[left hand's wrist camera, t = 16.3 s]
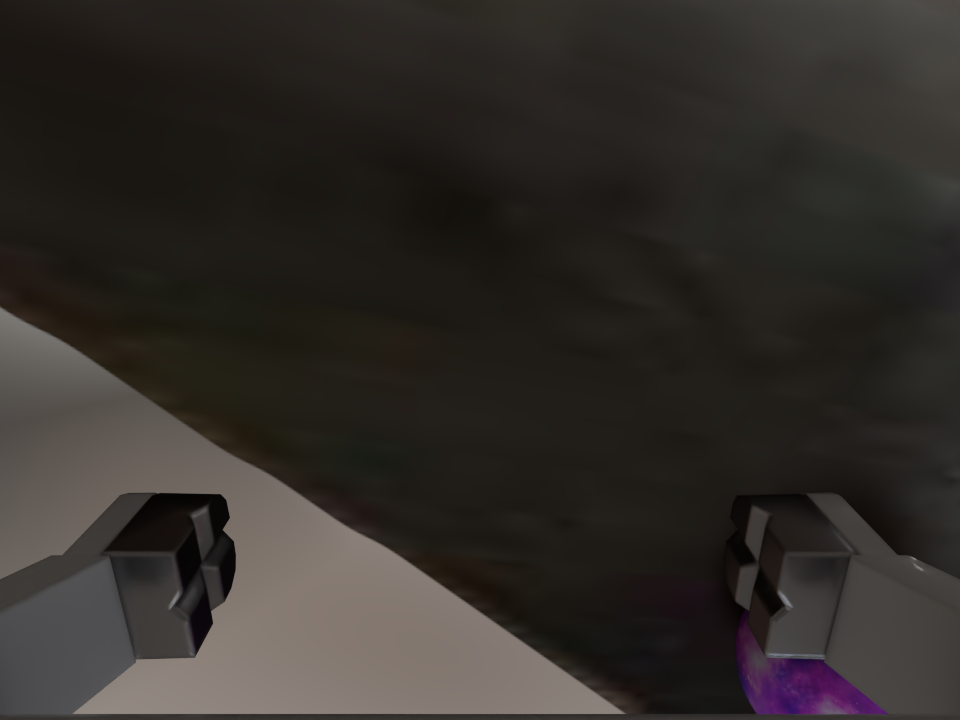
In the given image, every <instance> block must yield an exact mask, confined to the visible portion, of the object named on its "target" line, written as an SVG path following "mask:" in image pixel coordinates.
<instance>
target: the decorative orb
mask: <svg viewBox="0 0 960 720" xmlns="http://www.w3.org/2000/svg"><path fill="white" fill-rule="evenodd" d="M748 615H749V611H748V610H747V609H745V610H744V612H743V614H742V616H741V619H740V622H739V625H738V629H737V634H736V640H735V657H736V665H737V671H738V674H739V678H740V681H741V684H742V687H743V690H744V692H745V694H746V696H747V698H748V700H749V702H750V704H751V706H752V707H753V709H754V710H755V712H756V713H757V714H888V713H886V712H885V711H884V710H883V709H882V708H880V707H879V706H878V705H877V704H875V703H874V702H873V701H872V700H870V699H869V698H868V697H867V696H865V695H864V694H863V693H862V692H861V691H859V690H858V689H857V688H856V687H854V686H853V685H852V684H851V683H849V682H848V681H847V680H846V679H844V678H843V677H842V676H841V675H839V674H838V673H837V672H836V671H835V670H833V669H832V668H831V667H830V666H828V665H827V664H826V663H825V662H824V660H825V659H793V658H765V656H764V654H763V652H762V651H761V649H760V647H759V645H758V643H757V641H756V639H755V638H754V636H753V634H752V632H751V630H750V628H749V626H748V624H747V620H748Z"/></svg>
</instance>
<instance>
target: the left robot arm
mask: <svg viewBox="0 0 960 720" xmlns="http://www.w3.org/2000/svg"><path fill="white" fill-rule="evenodd" d="M229 518H230V516H229V511H228V507H227V502H226V499H225V498H224V497H223V496H222V495H221V494H180V493H159V494H157V493H127V494H123V495H120V496H119V497H118V498H117V499H116V500H115V501H114V502H113V503H112V504H111V505H110V506H109V507H108V508H107V509H106V510H105V511H104V513H103V514H102V515H101V516H100V517H99V518H98V519H97V520H96V521H95V522H94V523H93V524H92V525H91V526H90V527H89V528H88V529H87V530H86V531H85V532H84V533H83V534H82V535H81V536H80V537H79V538H78V539H77V541H76V542H75V543H74V544H73V545H72V546H71V547H70V548H69V549H68V550H67V551H66V552H65V553H64V554H63V555H53V556H49V557H47V558H45V559H43V560H41V561H39V562H37V563H34V564H32V565H30V566H28V567H26V568H24V569H22V570H19V571H17V572H15V573H13V574H11V575H9V576H6V577H4V578H2V579H0V720H960V579H958V578H956V577H953V576H951V575H949V574H947V573H945V572H943V571H941V570H938V569H936V568H934V567H932V566H930V565H928V564H926V563H923V562H921V561H919V560H917V559H915V558H913V557H911V556H908V555H897V554H896V553H895V552H894V551H893V550H892V549H891V548H890V547H889V546H888V545H887V544H886V543H885V541H884V540H883V539H882V538H881V537H880V536H879V535H878V534H877V533H876V532H875V531H874V530H873V529H872V528H871V527H870V526H869V525H868V524H867V523H866V522H865V521H864V520H863V519H862V518H861V517H860V515H859V514H858V513H857V512H856V511H855V510H854V509H853V508H852V507H851V506H850V505H849V504H848V503H847V502H846V501H845V500H844V499H843V498H842V497H841V496H840V495H837V494H835V493H832V492H830V493H803V494H774V495H737V496H736V498H735V500H734V502H733V505H732V510H731V516H730V518H731V520H732V522H733V523H734V525H735V527H736V528H737V531H736V532H735V533H734V534H733V535H732V536H731V537H730V538H729V539H728V540H727V541H726V547H725V555H724V565H725V576H726V580H727V583H728V587H729V590H730V592H731V594H732V596H733V598H734V600H735V602H737V603H738V604H740V605H741V606H742V607H744V608H745V609H747V610H748V611H749V615H748V620H747V624H748V626H749V628H750V630H751V632H752V634H753V636H754V638H755V639H756V641H757V643H758V645H759V647H760V649H761V651H762V652H763V654H764V656H765V658H793V659H825V660H824V662H825V663H826V664H827V665H828V666H830V667H831V668H832V669H833V670H835V671H836V672H837V673H838V674H839V675H841V676H842V677H843V678H844V679H846V680H847V681H848V682H849V683H851V684H852V685H853V686H854V687H856V688H857V689H858V690H859V691H861V692H862V693H863V694H864V695H865V696H867V697H868V698H869V699H870V700H872V701H873V702H874V703H875V704H877V705H878V706H879V707H880V708H882V709H883V710H884V711H885V712H886V713H888V714H72V713H74V712H75V711H76V710H77V709H79V708H80V707H81V706H82V705H84V704H85V703H86V702H87V701H89V700H90V699H91V698H92V697H94V696H95V695H96V694H97V693H98V692H100V691H101V690H102V689H103V688H105V687H106V686H107V685H108V684H110V683H111V682H112V681H113V680H115V679H116V678H117V677H118V676H120V675H121V674H122V673H123V672H125V671H126V670H127V669H128V668H129V667H131V666H132V665H133V664H134V663H135V662H136V660H135V659H165V658H195V656H196V654H197V653H198V651H199V649H200V647H201V645H202V643H203V641H204V639H205V638H206V636H207V634H208V632H209V630H210V628H211V626H212V624H213V620H212V614H211V611H212V610H213V609H215V608H216V607H217V606H219V605H220V604H222V603H223V602H225V600H226V598H227V596H228V594H229V592H230V590H231V587H232V583H233V579H234V574H235V569H236V553H235V546H234V541H233V540H232V539H231V538H230V537H229V536H228V535H227V534H226V533H225V532H224V531H223V528H224V526H225V525H226V523H227V522H228V520H229Z"/></svg>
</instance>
